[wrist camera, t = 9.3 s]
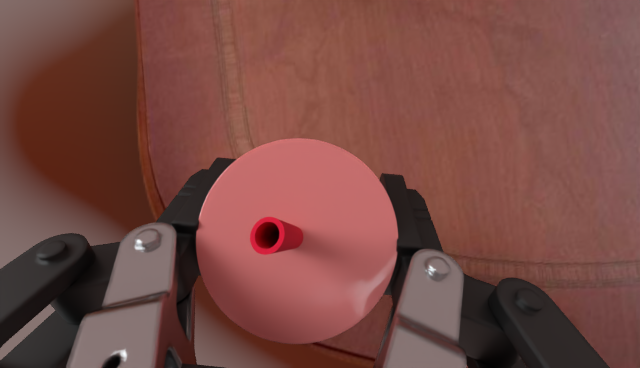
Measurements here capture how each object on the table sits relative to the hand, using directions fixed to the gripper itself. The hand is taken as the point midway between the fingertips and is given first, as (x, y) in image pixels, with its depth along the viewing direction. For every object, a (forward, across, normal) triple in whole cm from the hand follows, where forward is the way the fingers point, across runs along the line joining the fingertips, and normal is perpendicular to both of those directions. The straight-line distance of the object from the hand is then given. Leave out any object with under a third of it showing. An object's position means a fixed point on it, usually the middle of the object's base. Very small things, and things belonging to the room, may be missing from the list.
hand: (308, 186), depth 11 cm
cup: (+3, 0, +6) cm, 6 cm away
